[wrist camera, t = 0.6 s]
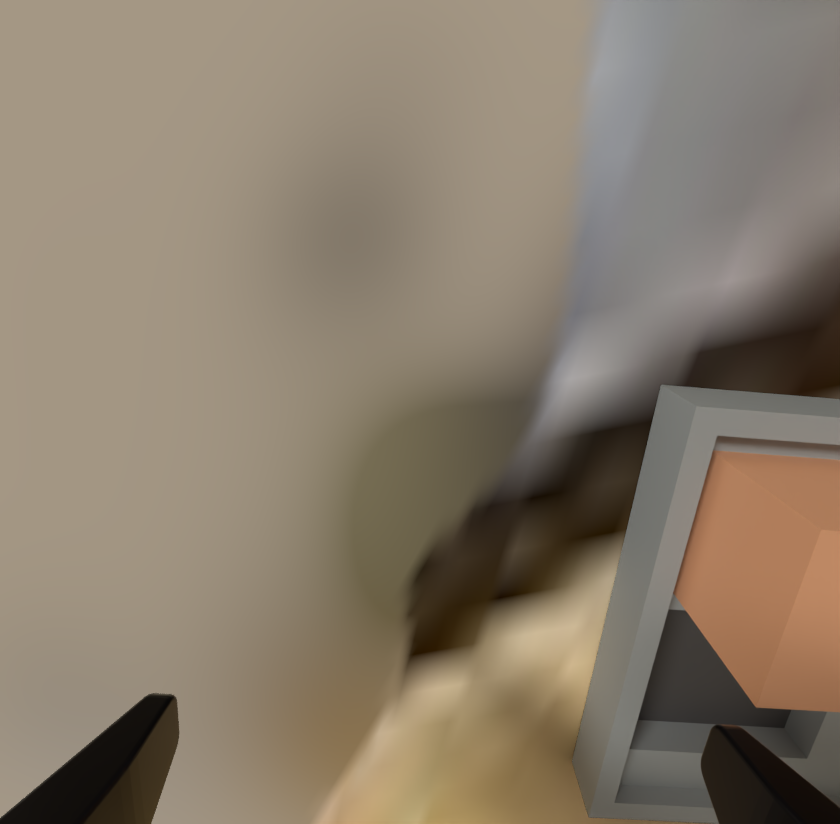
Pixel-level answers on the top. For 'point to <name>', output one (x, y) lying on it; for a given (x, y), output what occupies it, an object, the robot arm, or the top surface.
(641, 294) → the top surface
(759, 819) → the robot arm
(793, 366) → the top surface
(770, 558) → the block
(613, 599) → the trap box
